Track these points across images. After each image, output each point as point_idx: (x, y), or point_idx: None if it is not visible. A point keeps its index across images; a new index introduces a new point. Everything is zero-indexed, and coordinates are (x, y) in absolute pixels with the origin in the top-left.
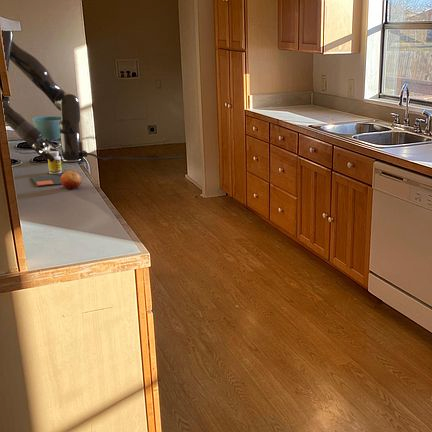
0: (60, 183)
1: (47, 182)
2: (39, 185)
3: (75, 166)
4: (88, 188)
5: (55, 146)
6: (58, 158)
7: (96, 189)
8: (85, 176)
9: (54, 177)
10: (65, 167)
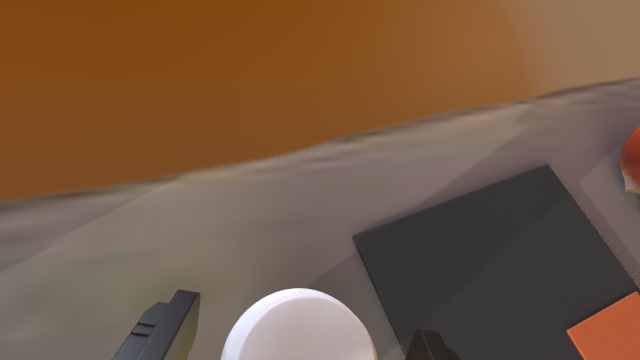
0: (610, 251)
1: (630, 343)
2: None
3: (53, 237)
4: (626, 110)
5: None
6: (340, 302)
7: (629, 80)
8: (396, 139)
9: (472, 328)
10: (67, 320)
